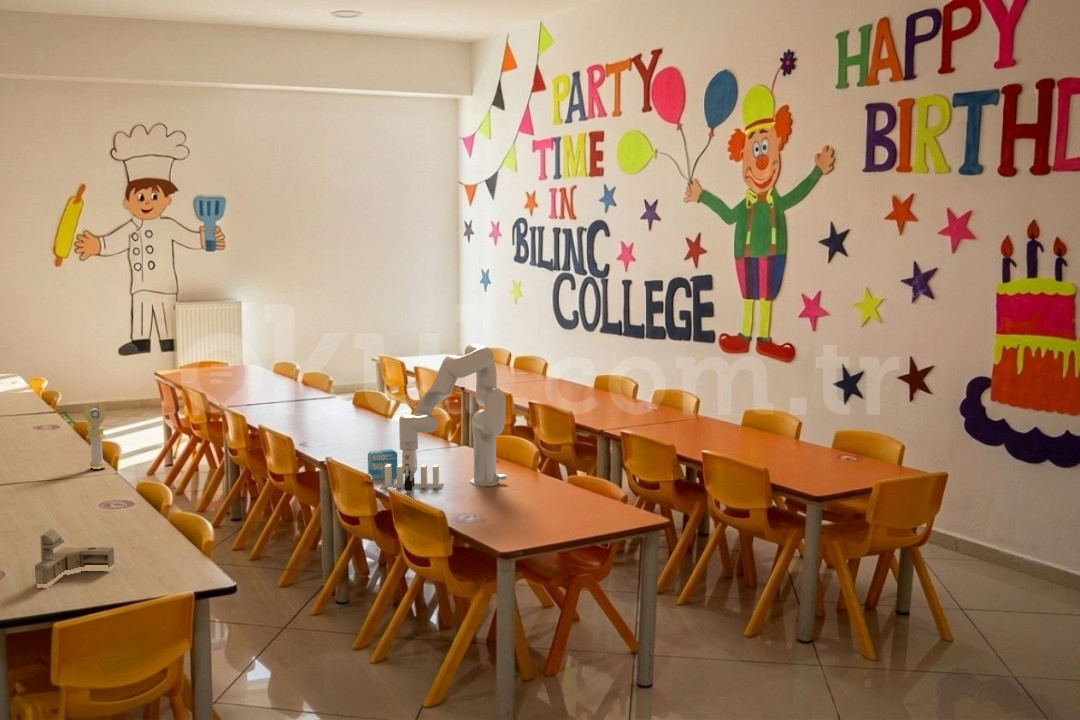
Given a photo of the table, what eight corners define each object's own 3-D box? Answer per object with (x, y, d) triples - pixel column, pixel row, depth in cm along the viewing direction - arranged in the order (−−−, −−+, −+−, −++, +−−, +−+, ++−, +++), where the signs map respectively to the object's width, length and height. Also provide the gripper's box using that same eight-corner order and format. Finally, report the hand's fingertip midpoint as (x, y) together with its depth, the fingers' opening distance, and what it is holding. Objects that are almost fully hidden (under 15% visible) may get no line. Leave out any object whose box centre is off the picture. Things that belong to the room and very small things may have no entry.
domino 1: (391, 484, 427) (391, 463, 425) (389, 487, 422) (389, 466, 420) (387, 484, 427) (386, 463, 425) (385, 487, 422) (384, 466, 420)
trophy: (88, 471, 449) (85, 405, 445) (86, 468, 456) (83, 402, 452) (108, 469, 453) (105, 403, 449) (106, 466, 460) (103, 401, 456)
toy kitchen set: (88, 589, 305) (85, 541, 303) (33, 589, 305) (30, 540, 303) (115, 569, 323) (112, 523, 321) (63, 568, 324) (60, 522, 322)
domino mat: (444, 484, 429) (444, 483, 429) (441, 490, 419) (441, 489, 419) (383, 484, 429) (383, 483, 429) (379, 490, 419) (379, 489, 419)
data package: (370, 480, 436) (370, 453, 434) (368, 478, 440) (367, 451, 438) (397, 477, 441) (397, 450, 439) (394, 475, 445) (394, 448, 443)
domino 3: (412, 491, 419) (412, 469, 417) (411, 494, 414) (410, 472, 412) (407, 491, 419) (407, 469, 417) (406, 494, 414) (405, 472, 412)
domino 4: (427, 485, 426) (426, 464, 425) (425, 488, 421) (425, 467, 420) (422, 485, 426) (422, 464, 425) (420, 488, 421) (420, 466, 420)
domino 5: (439, 485, 426) (438, 464, 425) (437, 488, 421) (437, 467, 420) (434, 485, 426) (434, 464, 425) (432, 488, 421) (432, 467, 420)
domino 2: (403, 484, 426) (403, 464, 425) (401, 487, 422) (401, 466, 420) (398, 484, 426) (398, 464, 425) (397, 487, 422) (396, 466, 420)
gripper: (415, 449, 405) (415, 494, 407) (420, 440, 422) (421, 483, 424) (396, 449, 405) (397, 493, 407) (402, 440, 422) (403, 483, 424)
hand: (409, 488), depth 416 cm, fingers open, 5 cm apart
